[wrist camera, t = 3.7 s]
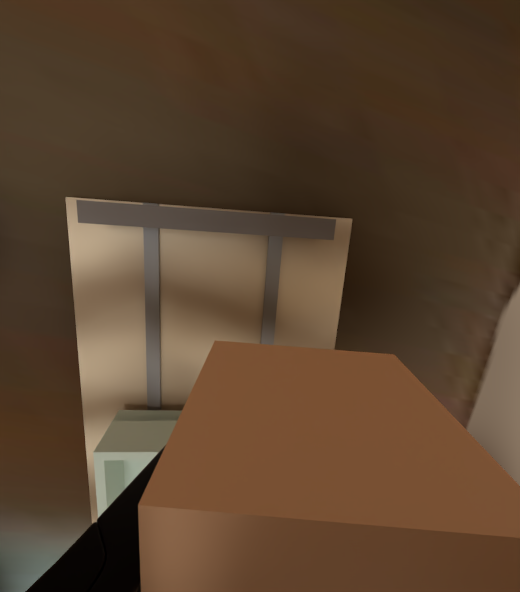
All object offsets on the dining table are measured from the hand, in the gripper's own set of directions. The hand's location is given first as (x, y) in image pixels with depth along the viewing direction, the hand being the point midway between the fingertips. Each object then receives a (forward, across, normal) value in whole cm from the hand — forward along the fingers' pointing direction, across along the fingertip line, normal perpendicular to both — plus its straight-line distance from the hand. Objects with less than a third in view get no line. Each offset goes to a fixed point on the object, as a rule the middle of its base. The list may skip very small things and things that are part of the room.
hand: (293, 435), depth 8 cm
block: (0, 0, 0) cm, 0 cm away
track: (+11, +3, +7) cm, 14 cm away
